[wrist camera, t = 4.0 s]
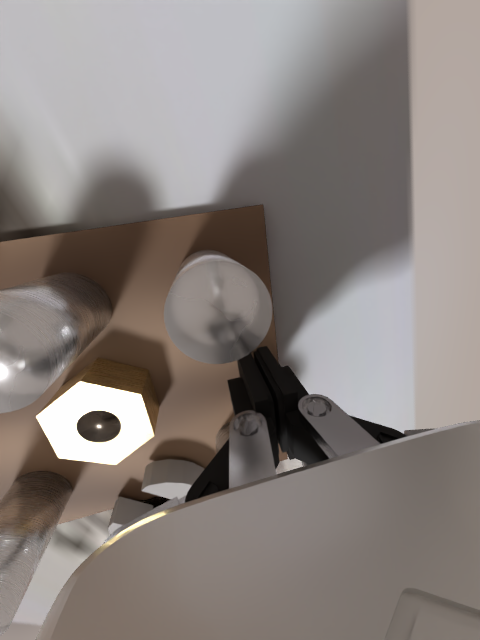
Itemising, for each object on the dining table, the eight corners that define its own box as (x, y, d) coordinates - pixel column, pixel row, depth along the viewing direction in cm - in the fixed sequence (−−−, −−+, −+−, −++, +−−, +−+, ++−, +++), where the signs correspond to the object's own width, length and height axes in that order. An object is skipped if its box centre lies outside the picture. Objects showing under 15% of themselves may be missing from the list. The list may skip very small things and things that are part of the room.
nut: (42, 401, 12) (13, 433, 10) (117, 342, 11) (102, 364, 9) (110, 444, 13) (96, 479, 11) (176, 393, 13) (174, 421, 11)
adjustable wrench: (303, 591, 24) (311, 617, 23) (247, 618, 24) (251, 647, 23) (188, 444, 14) (188, 473, 12) (90, 492, 14) (77, 527, 12)
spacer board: (-209, 272, 9) (-232, 275, 8) (260, 205, 11) (263, 204, 10) (8, 530, 14) (2, 540, 14) (284, 452, 17) (287, 458, 16)
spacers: (-150, 307, 9) (-519, 385, 4) (235, 244, 11) (266, 252, 6) (17, 517, 14) (-74, 662, 9) (264, 449, 15) (294, 539, 11)
